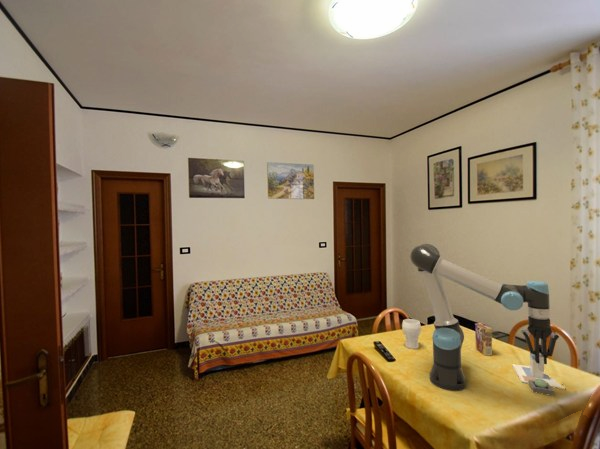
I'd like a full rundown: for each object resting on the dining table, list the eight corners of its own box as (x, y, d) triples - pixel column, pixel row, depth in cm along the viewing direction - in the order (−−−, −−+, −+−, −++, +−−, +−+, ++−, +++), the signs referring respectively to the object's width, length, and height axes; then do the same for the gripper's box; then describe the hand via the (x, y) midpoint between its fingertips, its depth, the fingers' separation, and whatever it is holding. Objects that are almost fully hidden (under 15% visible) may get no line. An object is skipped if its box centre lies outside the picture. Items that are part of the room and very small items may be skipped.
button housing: (533, 392, 127) (533, 387, 127) (528, 384, 134) (528, 379, 134) (553, 395, 124) (553, 391, 124) (547, 387, 131) (547, 382, 131)
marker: (532, 376, 139) (532, 355, 139) (530, 372, 143) (529, 351, 143) (543, 377, 137) (542, 356, 137) (540, 373, 141) (540, 353, 141)
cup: (422, 344, 179) (422, 320, 179) (419, 351, 170) (418, 325, 170) (404, 341, 185) (404, 317, 185) (400, 347, 176) (400, 322, 176)
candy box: (493, 355, 162) (492, 328, 163) (485, 356, 162) (484, 328, 162) (482, 348, 171) (481, 322, 171) (475, 349, 171) (474, 323, 171)
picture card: (521, 382, 135) (521, 380, 135) (512, 365, 151) (512, 363, 151) (566, 389, 128) (566, 388, 128) (551, 370, 145) (551, 369, 145)
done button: (536, 388, 128) (536, 382, 128) (533, 383, 132) (533, 377, 132) (548, 390, 126) (547, 384, 126) (544, 385, 130) (544, 379, 130)
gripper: (523, 318, 128) (525, 372, 128) (561, 321, 123) (563, 377, 123) (518, 313, 135) (520, 364, 135) (554, 315, 130) (557, 369, 129)
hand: (541, 370), depth 129 cm, fingers closed
